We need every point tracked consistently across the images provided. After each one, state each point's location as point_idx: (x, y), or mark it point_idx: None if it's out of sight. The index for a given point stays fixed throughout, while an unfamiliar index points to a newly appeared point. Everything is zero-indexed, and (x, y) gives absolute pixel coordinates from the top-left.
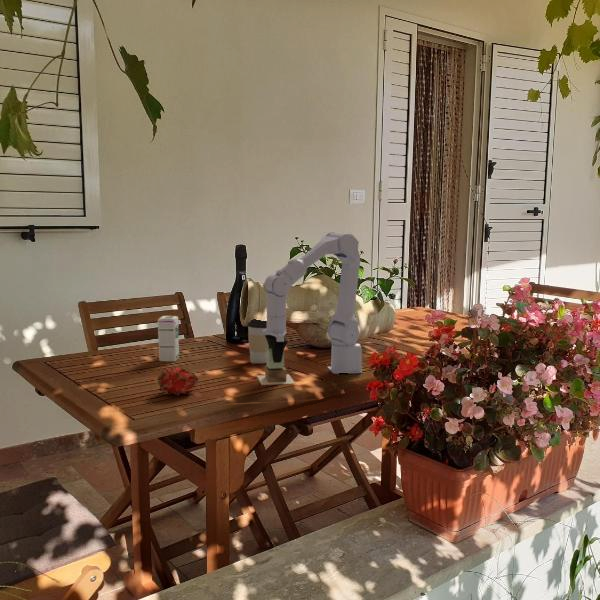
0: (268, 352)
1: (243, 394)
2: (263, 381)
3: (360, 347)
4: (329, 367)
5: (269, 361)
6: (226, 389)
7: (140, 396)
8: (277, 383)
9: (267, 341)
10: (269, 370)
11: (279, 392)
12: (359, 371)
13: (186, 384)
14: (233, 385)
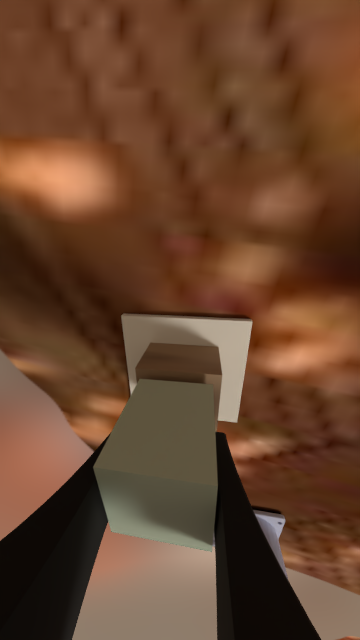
0: (133, 460)
1: (28, 230)
2: (162, 329)
3: None
4: (271, 519)
5: (125, 407)
6: (86, 154)
7: None
8: (134, 366)
9: (266, 602)
10: (140, 374)
11: (63, 351)
12: (213, 543)
13: None
14: (145, 198)
